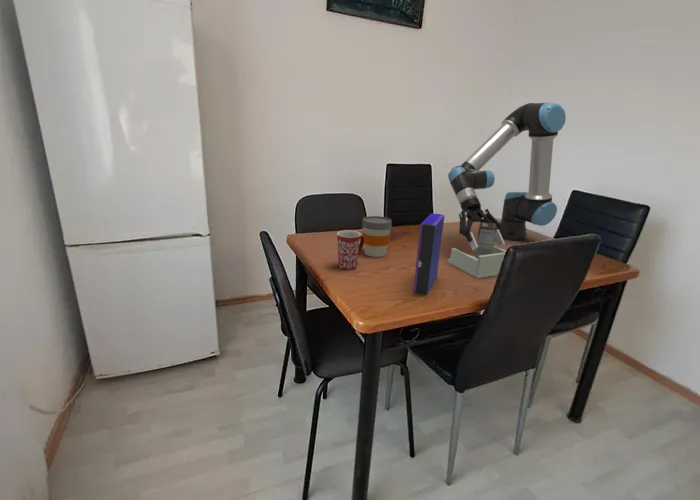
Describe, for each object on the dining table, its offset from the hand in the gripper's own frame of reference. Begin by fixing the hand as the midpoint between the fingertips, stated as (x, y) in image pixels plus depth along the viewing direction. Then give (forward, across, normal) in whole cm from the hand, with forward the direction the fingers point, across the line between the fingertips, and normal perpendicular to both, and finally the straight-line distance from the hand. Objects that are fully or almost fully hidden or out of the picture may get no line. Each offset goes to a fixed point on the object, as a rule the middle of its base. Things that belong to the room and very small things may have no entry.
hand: (489, 247), depth 156 cm
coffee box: (+4, 0, -7) cm, 8 cm away
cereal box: (+10, +32, -3) cm, 34 cm away
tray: (+5, 0, -8) cm, 9 cm away
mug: (-8, +50, -21) cm, 55 cm away
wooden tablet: (-29, +14, -43) cm, 53 cm away
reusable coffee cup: (-15, +34, -28) cm, 46 cm away
